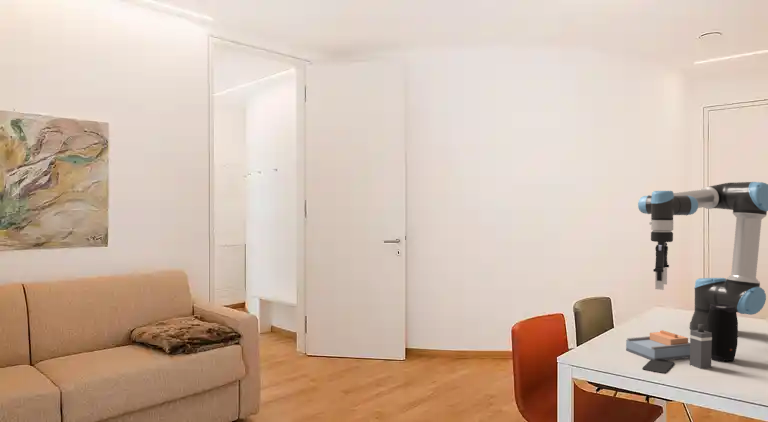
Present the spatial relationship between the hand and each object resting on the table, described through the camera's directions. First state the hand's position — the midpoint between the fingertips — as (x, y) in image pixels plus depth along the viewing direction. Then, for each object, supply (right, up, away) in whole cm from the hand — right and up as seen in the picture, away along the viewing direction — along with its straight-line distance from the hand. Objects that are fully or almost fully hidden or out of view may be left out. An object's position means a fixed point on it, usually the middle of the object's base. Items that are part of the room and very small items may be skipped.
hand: (661, 286), depth 208 cm
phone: (-11, -25, -21) cm, 34 cm away
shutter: (0, -20, -5) cm, 20 cm away
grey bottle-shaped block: (+3, -25, -20) cm, 32 cm away
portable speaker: (+15, -25, -12) cm, 32 cm away
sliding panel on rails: (-3, -24, -5) cm, 25 cm away
